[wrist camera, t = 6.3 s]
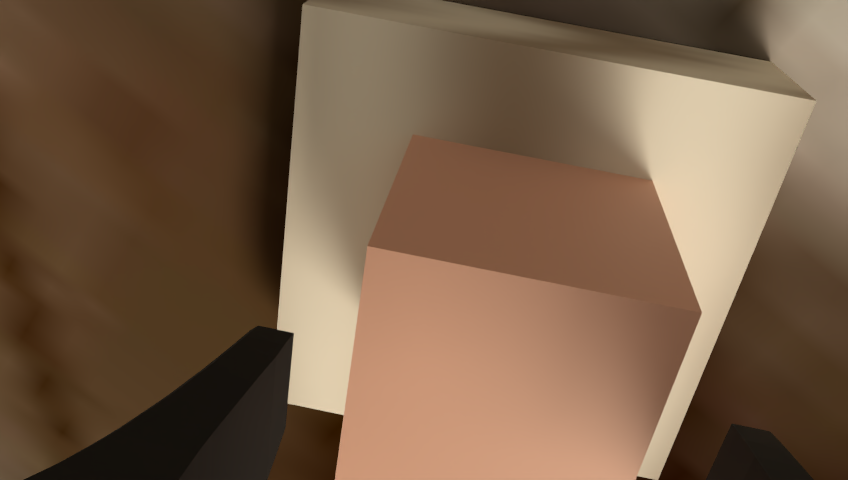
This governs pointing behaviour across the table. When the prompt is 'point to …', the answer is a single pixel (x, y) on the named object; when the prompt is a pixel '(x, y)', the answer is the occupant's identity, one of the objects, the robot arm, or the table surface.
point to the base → (519, 152)
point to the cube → (513, 322)
